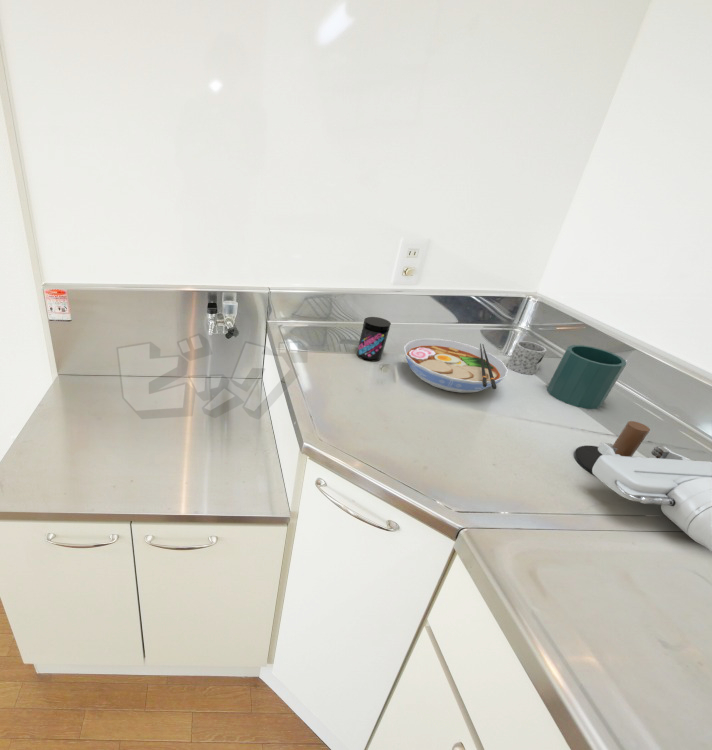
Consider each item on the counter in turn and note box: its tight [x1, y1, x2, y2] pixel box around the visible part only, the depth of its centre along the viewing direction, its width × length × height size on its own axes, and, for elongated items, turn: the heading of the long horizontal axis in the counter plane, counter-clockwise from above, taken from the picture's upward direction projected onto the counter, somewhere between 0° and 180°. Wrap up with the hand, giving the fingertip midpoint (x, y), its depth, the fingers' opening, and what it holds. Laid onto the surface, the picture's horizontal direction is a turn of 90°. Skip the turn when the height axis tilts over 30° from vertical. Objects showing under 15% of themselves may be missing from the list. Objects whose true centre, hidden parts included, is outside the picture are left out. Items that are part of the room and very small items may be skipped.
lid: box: [573, 420, 651, 476], centre depth 77 cm, size 11×11×10 cm
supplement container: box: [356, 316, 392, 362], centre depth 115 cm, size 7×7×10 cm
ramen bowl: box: [403, 337, 509, 394], centre depth 103 cm, size 25×23×8 cm
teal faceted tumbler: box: [546, 344, 627, 410], centre depth 97 cm, size 10×10×12 cm
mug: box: [506, 340, 547, 375], centre depth 114 cm, size 10×7×7 cm, turn 162°
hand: (630, 447), depth 76 cm, fingers open, 8 cm apart
